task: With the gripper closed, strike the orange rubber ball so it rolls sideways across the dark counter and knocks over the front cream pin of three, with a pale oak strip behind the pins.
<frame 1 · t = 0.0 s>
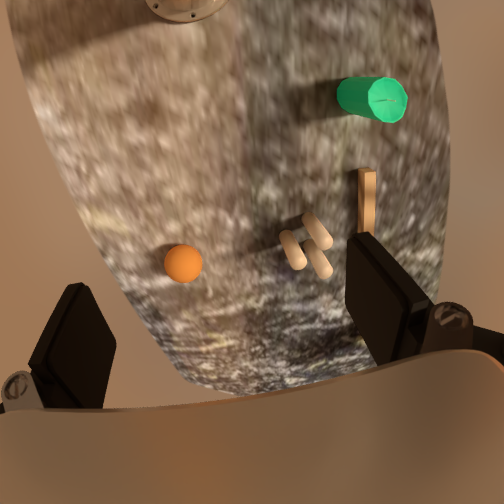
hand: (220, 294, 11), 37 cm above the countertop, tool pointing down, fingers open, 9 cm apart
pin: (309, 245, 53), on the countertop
ball: (183, 263, 49), on the countertop
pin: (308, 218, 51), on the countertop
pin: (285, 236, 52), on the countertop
candle: (353, 95, 42), on the countertop
back wall: (362, 222, 52), on the countertop
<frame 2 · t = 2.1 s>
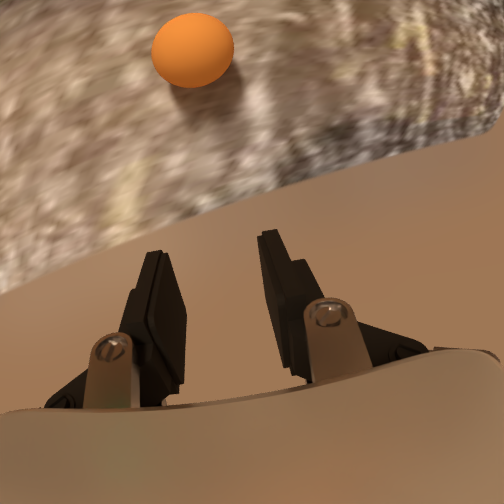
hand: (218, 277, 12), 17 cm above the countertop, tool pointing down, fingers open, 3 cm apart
ball: (192, 50, 19), on the countertop
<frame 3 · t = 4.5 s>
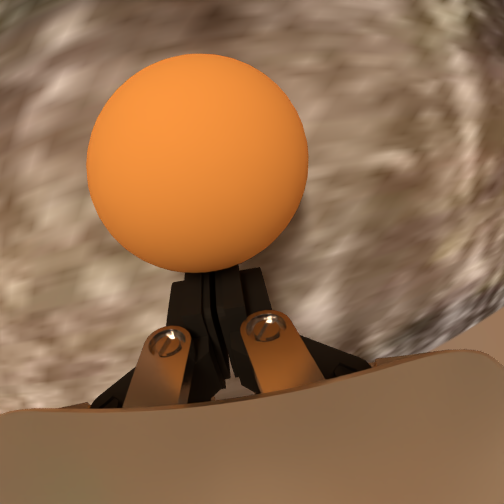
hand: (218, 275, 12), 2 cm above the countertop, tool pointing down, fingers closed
ball: (196, 161, 8), on the countertop
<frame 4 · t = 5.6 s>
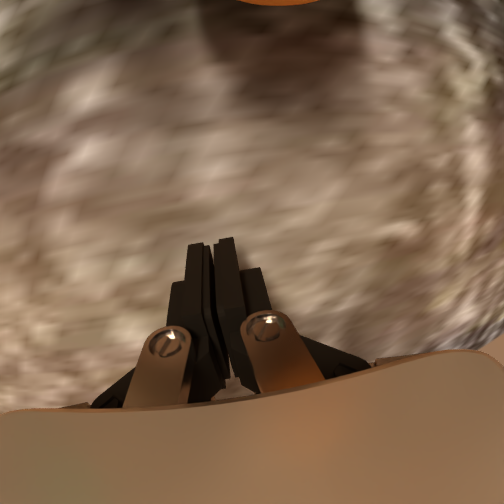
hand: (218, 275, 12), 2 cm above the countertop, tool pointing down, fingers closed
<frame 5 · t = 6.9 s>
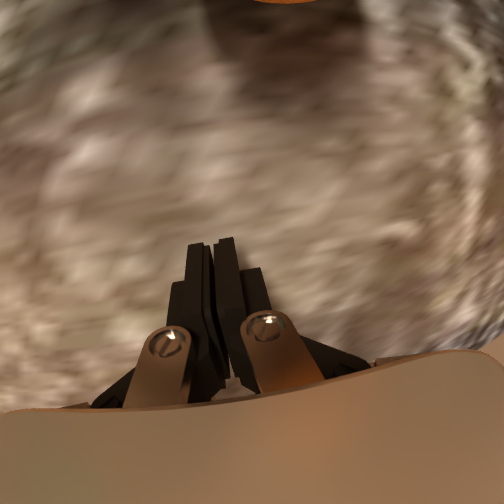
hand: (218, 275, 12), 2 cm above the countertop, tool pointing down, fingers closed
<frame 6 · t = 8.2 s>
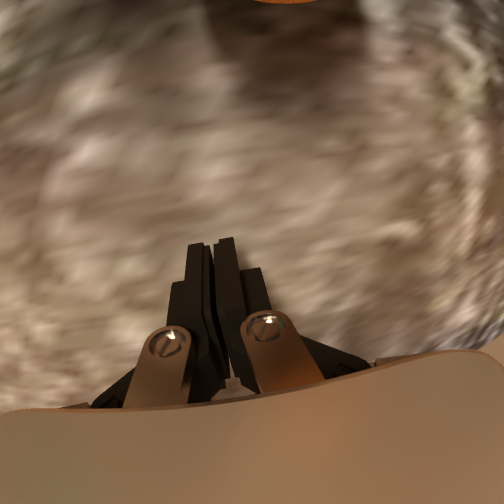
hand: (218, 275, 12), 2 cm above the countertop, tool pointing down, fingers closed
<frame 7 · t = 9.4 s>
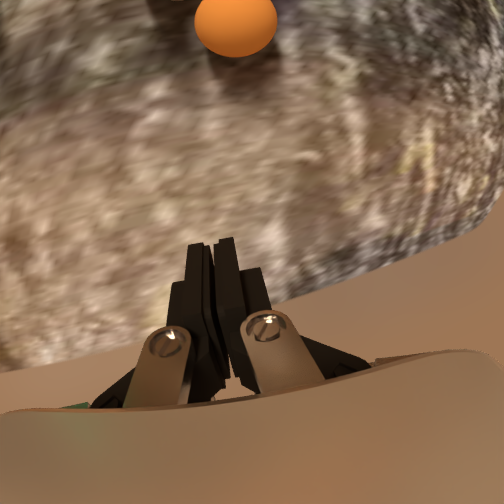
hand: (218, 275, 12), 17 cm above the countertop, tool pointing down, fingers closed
ball: (235, 20, 18), on the countertop
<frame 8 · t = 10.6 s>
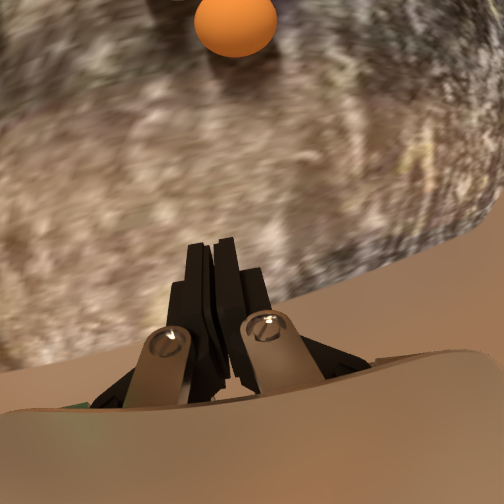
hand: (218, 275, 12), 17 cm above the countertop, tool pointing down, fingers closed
ball: (235, 21, 18), on the countertop
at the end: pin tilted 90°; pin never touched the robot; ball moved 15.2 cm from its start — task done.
